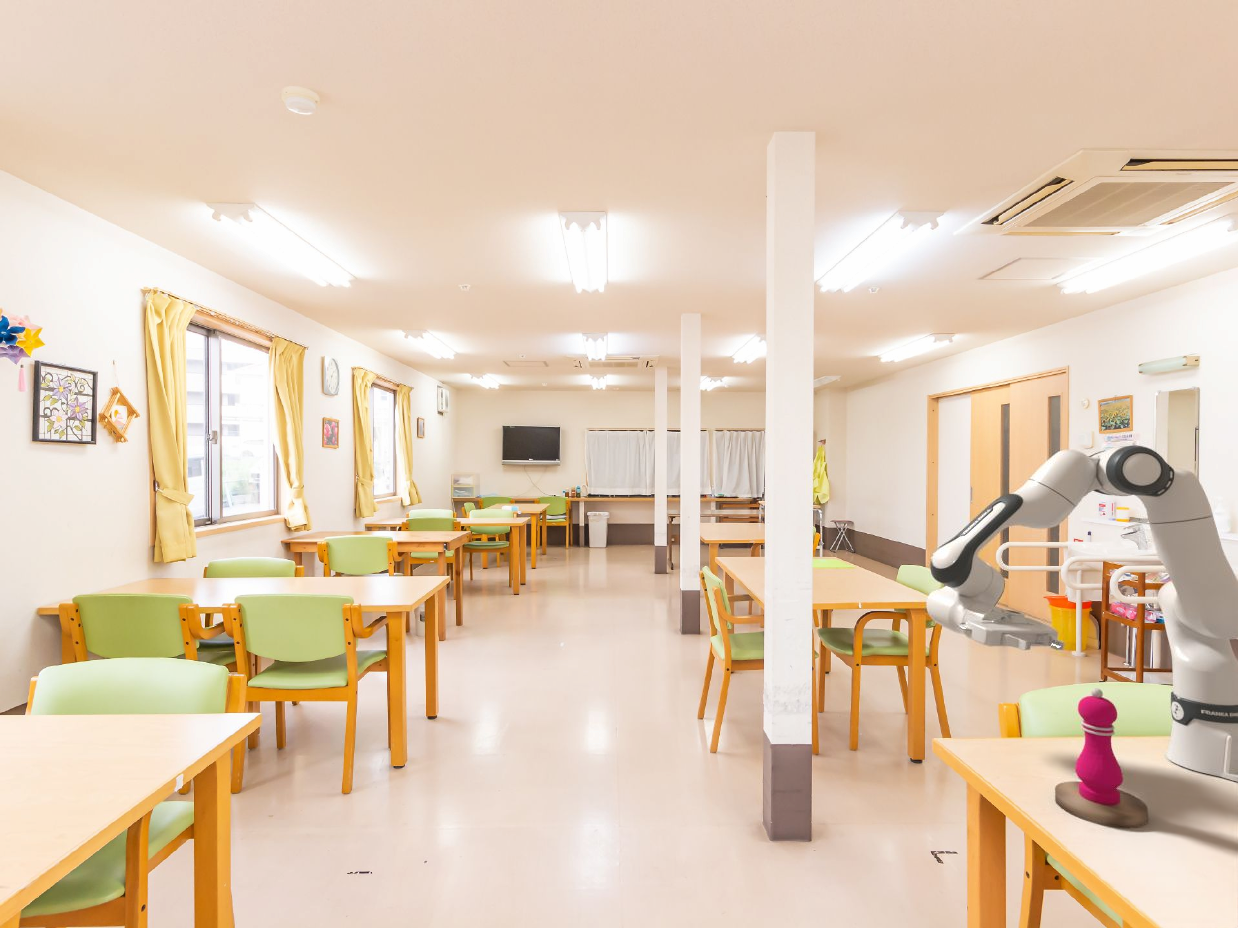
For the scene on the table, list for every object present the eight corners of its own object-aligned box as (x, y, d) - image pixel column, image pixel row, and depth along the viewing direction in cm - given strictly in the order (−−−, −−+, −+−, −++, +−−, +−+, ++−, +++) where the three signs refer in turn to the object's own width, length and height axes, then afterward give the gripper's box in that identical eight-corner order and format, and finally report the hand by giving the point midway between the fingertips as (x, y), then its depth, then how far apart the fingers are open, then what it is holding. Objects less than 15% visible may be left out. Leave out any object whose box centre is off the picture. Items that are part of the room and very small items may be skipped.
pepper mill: (1081, 785, 131) (1078, 680, 131) (1127, 797, 125) (1124, 688, 126) (1071, 797, 126) (1069, 688, 126) (1119, 810, 120) (1116, 696, 121)
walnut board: (1117, 793, 132) (1117, 783, 132) (1167, 829, 118) (1167, 818, 118) (1040, 789, 133) (1040, 779, 133) (1081, 825, 119) (1081, 813, 119)
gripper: (954, 610, 148) (1009, 630, 135) (1024, 611, 155) (1082, 631, 142) (950, 638, 148) (1004, 661, 135) (1020, 638, 155) (1078, 661, 142)
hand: (1045, 646), depth 139 cm, fingers open, 8 cm apart
